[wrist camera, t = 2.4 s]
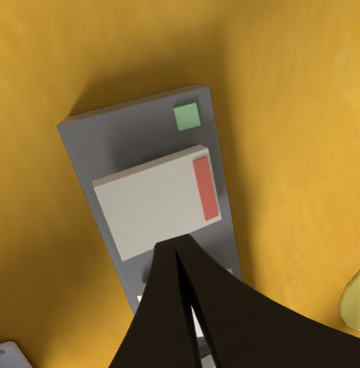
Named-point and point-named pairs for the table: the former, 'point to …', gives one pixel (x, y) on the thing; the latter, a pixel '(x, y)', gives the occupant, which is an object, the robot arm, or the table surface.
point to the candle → (351, 303)
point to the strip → (145, 152)
